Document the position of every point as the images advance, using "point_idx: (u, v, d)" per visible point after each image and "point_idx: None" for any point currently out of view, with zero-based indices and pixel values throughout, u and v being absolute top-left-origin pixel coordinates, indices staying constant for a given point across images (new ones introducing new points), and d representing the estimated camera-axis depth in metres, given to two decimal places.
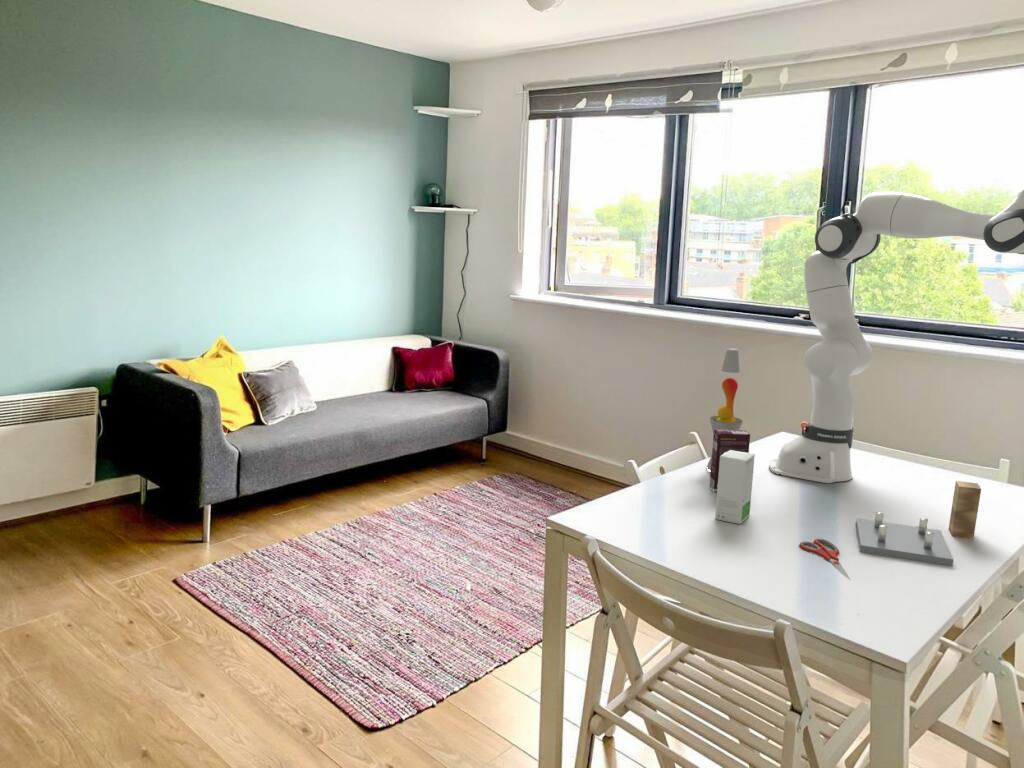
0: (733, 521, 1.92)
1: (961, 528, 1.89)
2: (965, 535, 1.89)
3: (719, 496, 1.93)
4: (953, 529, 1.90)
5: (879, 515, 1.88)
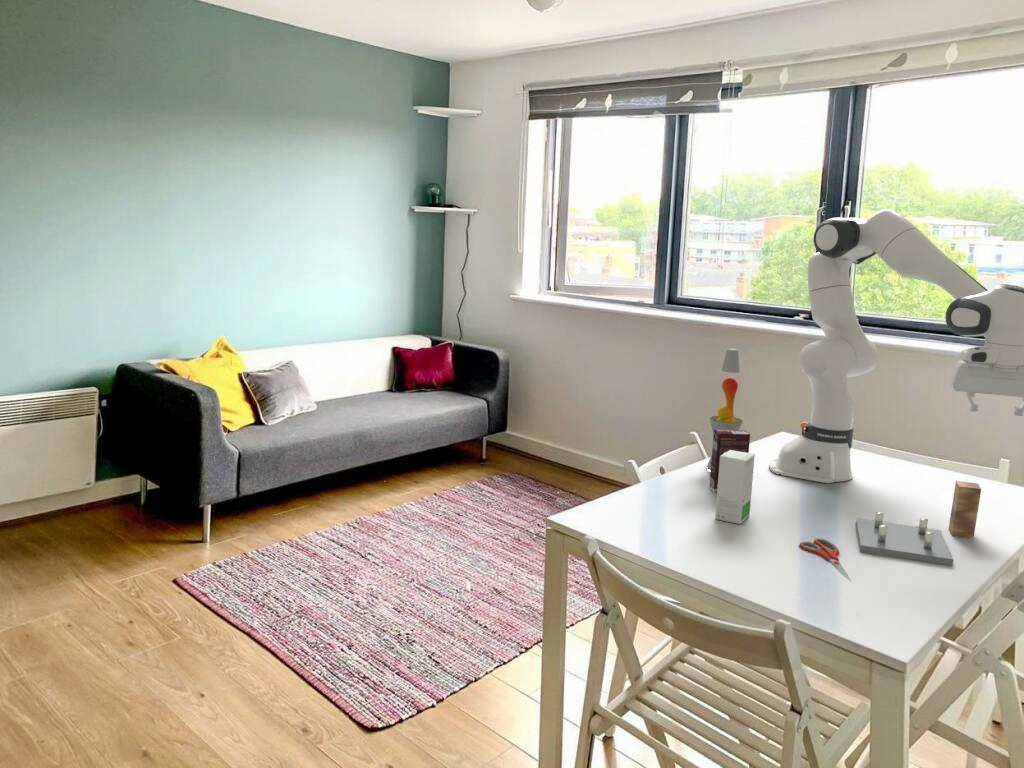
0: (733, 521, 1.92)
1: (961, 528, 1.89)
2: (965, 535, 1.89)
3: (719, 496, 1.93)
4: (953, 529, 1.90)
5: (879, 515, 1.88)
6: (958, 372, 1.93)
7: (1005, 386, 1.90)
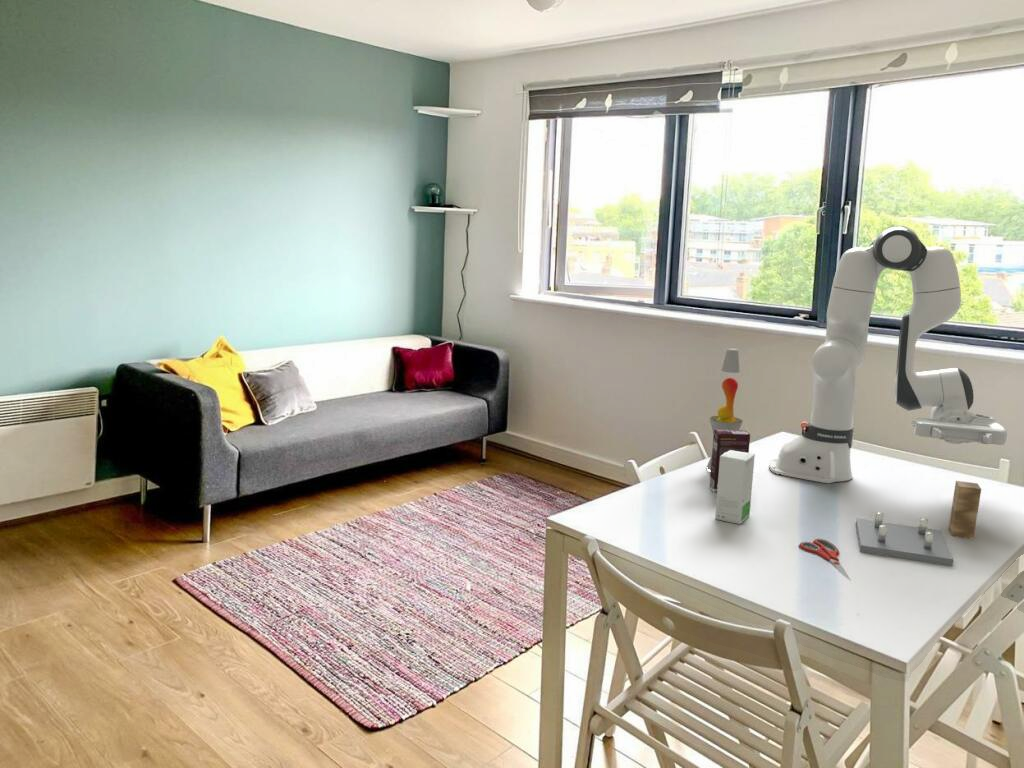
0: (733, 521, 1.92)
1: (961, 528, 1.89)
2: (965, 535, 1.89)
3: (719, 496, 1.93)
4: (953, 529, 1.90)
5: (879, 515, 1.88)
6: None
7: None
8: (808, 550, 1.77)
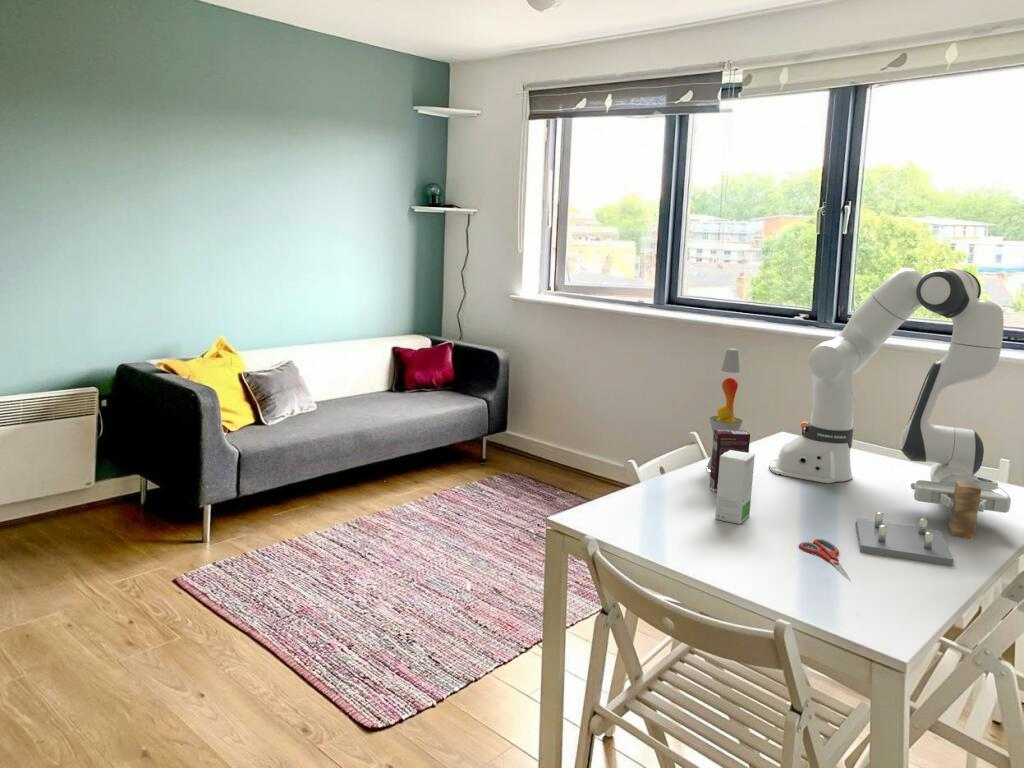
0: (733, 521, 1.92)
1: (961, 528, 1.89)
2: (965, 535, 1.89)
3: (719, 496, 1.93)
4: (953, 529, 1.90)
5: (879, 515, 1.88)
6: None
7: None
8: (808, 550, 1.77)
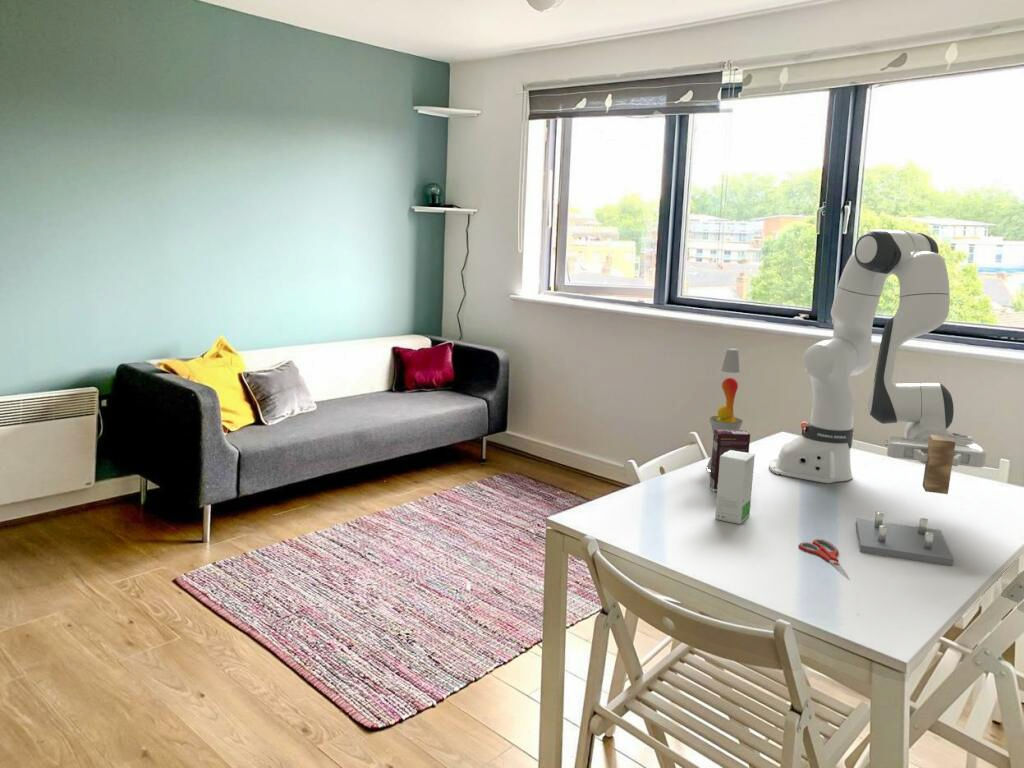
0: (733, 521, 1.92)
1: (935, 483, 1.82)
2: (939, 490, 1.82)
3: (719, 496, 1.93)
4: (927, 484, 1.83)
5: (879, 515, 1.88)
6: None
7: None
8: (808, 551, 1.77)
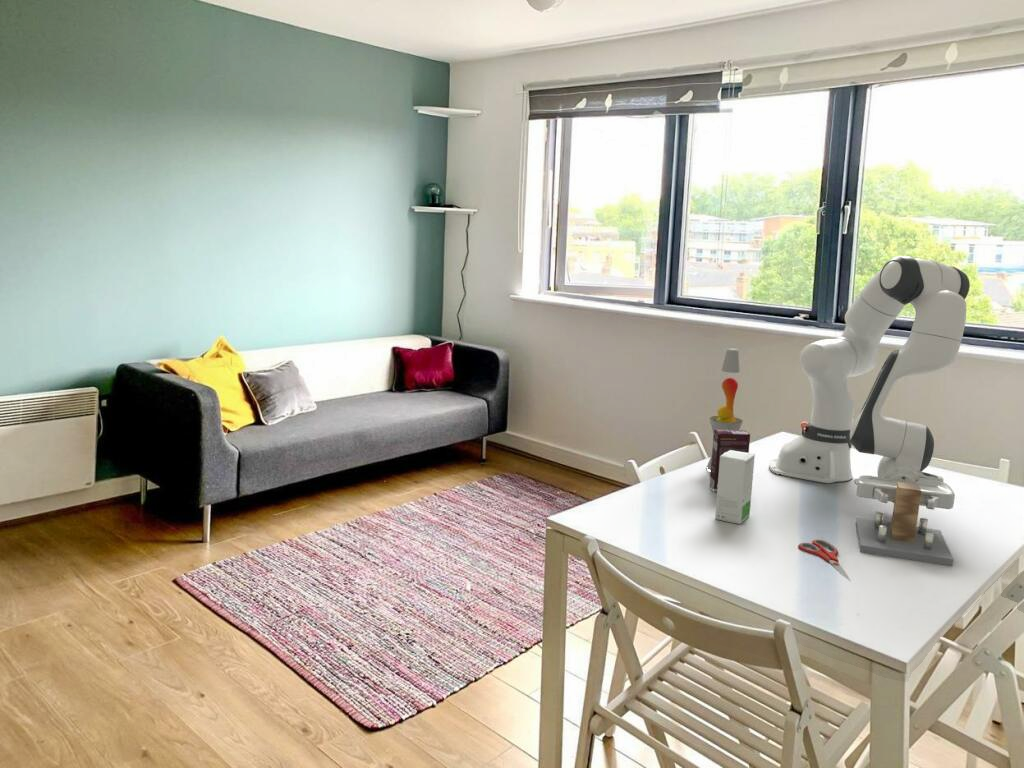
0: (733, 521, 1.92)
1: (902, 531, 1.81)
2: (905, 539, 1.81)
3: (719, 496, 1.93)
4: (893, 532, 1.82)
5: (879, 515, 1.88)
6: None
7: None
8: (807, 551, 1.77)
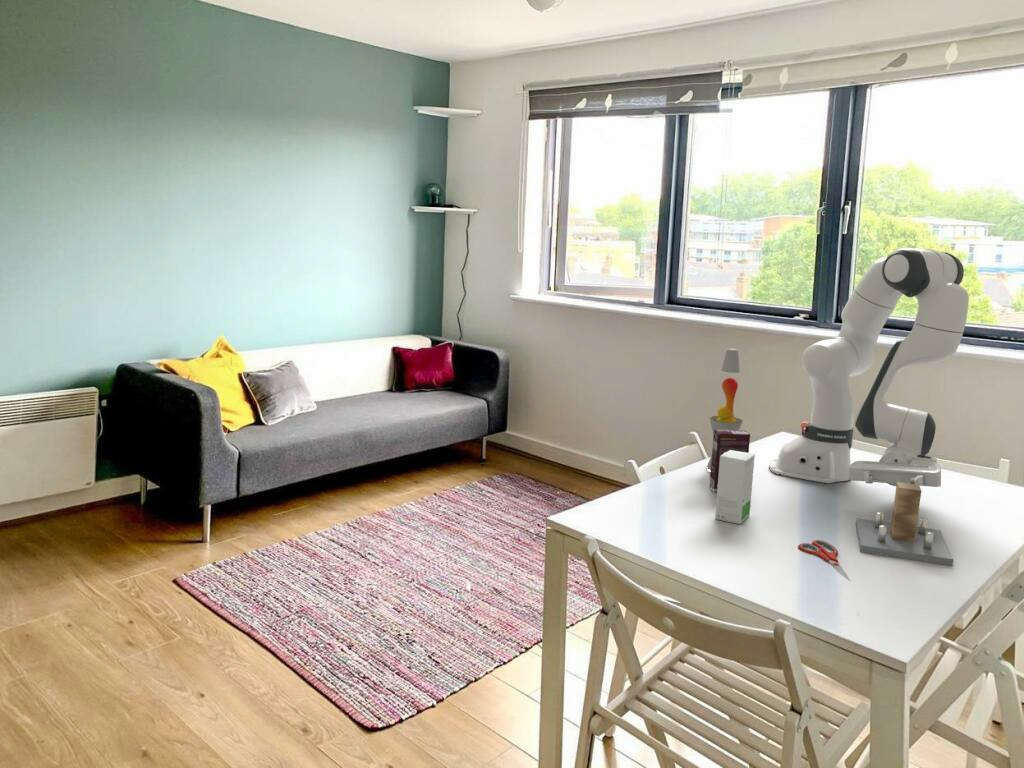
0: (733, 521, 1.92)
1: (902, 531, 1.81)
2: (905, 539, 1.81)
3: (719, 496, 1.93)
4: (893, 532, 1.82)
5: (879, 515, 1.88)
6: None
7: None
8: (807, 551, 1.77)
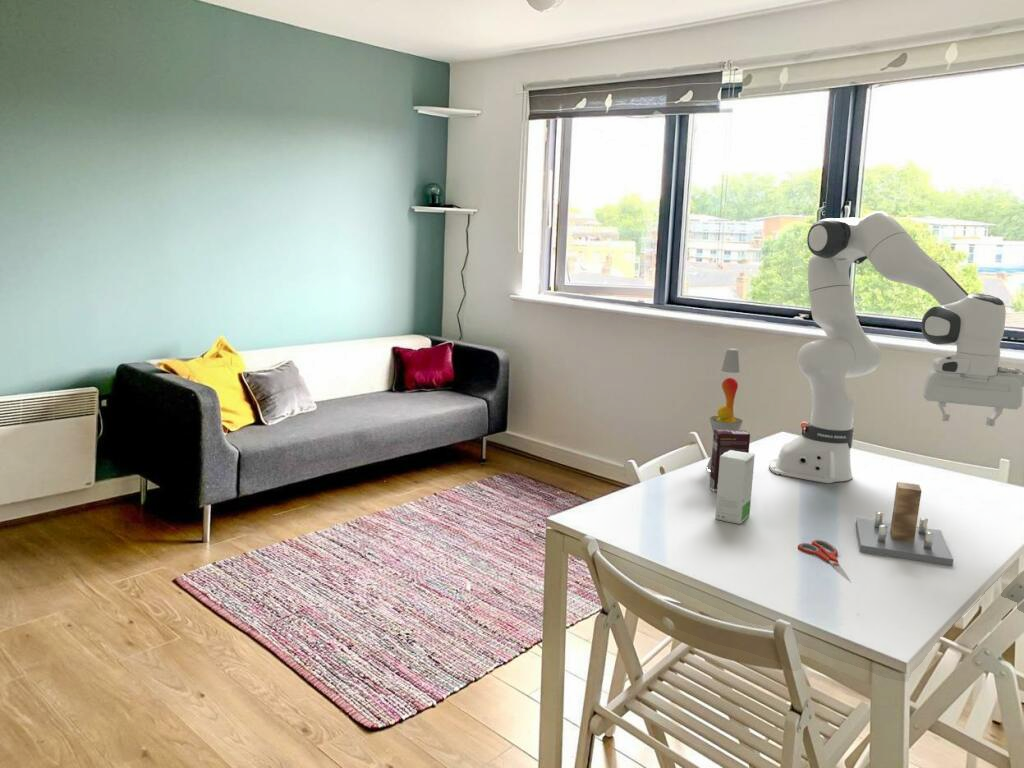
0: (733, 521, 1.92)
1: (902, 531, 1.81)
2: (905, 539, 1.81)
3: (719, 496, 1.93)
4: (893, 532, 1.82)
5: (879, 515, 1.88)
6: (929, 382, 1.92)
7: (976, 396, 1.89)
8: (807, 551, 1.76)
